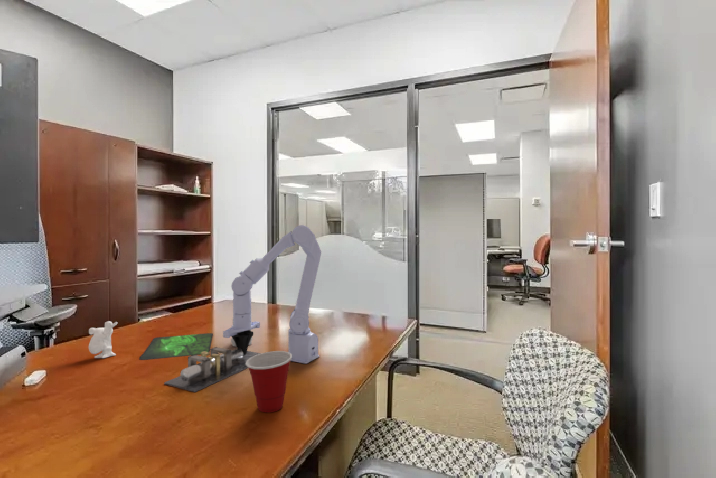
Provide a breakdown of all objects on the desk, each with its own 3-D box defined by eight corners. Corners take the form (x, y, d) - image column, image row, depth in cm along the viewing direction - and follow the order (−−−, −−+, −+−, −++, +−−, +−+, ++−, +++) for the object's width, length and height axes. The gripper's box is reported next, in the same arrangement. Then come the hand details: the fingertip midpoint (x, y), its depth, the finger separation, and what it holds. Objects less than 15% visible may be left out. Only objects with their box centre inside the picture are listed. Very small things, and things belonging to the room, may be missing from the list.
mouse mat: (209, 354, 128) (209, 351, 128) (137, 362, 120) (137, 358, 120) (213, 334, 153) (213, 332, 153) (153, 339, 146) (153, 337, 146)
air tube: (235, 357, 120) (235, 345, 120) (243, 359, 118) (243, 346, 118) (180, 380, 101) (180, 365, 101) (188, 382, 100) (188, 367, 100)
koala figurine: (122, 353, 128) (121, 318, 128) (111, 359, 121) (111, 323, 121) (96, 354, 127) (95, 319, 127) (84, 361, 120) (83, 324, 120)
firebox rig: (272, 356, 124) (272, 338, 124) (194, 392, 96) (194, 368, 96) (245, 351, 129) (244, 333, 129) (164, 384, 102) (164, 361, 102)
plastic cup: (244, 401, 91) (244, 352, 91) (288, 394, 95) (288, 348, 95) (247, 422, 81) (246, 367, 81) (296, 413, 85) (295, 361, 85)
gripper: (248, 307, 128) (248, 346, 128) (215, 316, 115) (216, 359, 115) (264, 309, 125) (264, 349, 125) (232, 318, 112) (232, 362, 112)
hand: (242, 354), depth 120 cm, fingers closed
